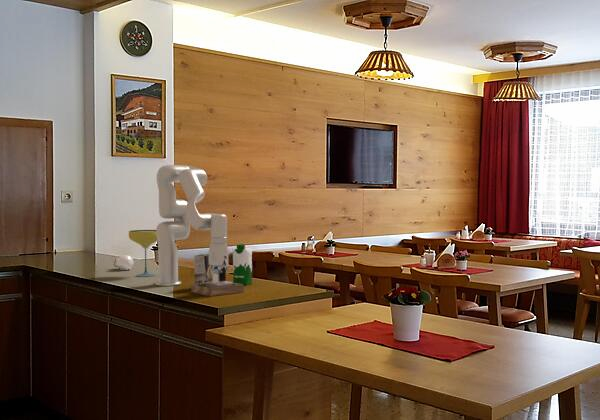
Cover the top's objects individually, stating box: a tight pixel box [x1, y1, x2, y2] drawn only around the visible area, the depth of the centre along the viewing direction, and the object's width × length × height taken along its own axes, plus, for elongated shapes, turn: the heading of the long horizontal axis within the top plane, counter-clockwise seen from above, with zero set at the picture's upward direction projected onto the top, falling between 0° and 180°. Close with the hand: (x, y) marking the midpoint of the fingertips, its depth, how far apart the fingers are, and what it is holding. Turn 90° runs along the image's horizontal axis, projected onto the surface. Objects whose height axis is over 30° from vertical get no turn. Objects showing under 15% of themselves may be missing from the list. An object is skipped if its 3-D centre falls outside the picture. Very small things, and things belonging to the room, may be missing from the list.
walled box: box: [190, 283, 245, 297], centre depth 308 cm, size 16×18×4 cm
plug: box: [213, 268, 225, 283], centre depth 309 cm, size 4×4×10 cm
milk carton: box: [232, 244, 253, 287], centre depth 334 cm, size 9×9×20 cm
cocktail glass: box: [128, 229, 158, 278], centre depth 371 cm, size 18×18×25 cm
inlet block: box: [206, 280, 233, 288], centre depth 309 cm, size 9×9×4 cm
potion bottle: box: [113, 254, 134, 271], centre depth 401 cm, size 9×10×15 cm
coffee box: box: [194, 253, 213, 285], centre depth 322 cm, size 9×6×16 cm
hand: (219, 280), depth 309 cm, fingers open, 4 cm apart
